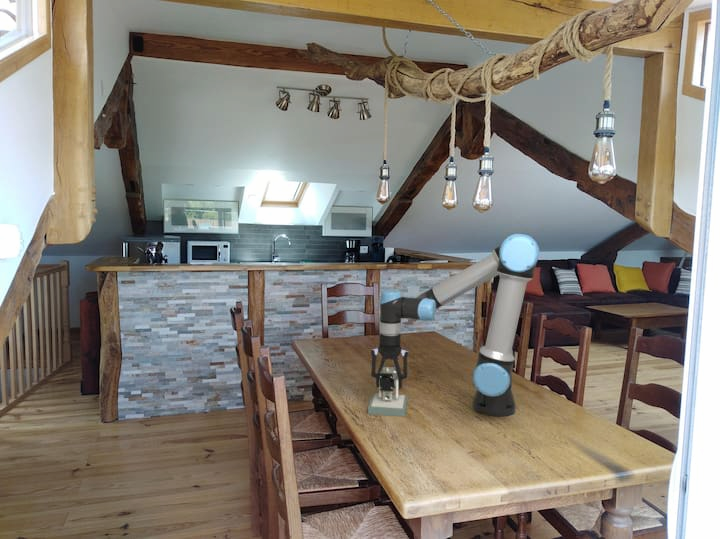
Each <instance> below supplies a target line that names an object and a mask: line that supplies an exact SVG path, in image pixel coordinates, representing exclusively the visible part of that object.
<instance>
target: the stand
mask: <svg viewBox="0 0 720 539" xmlns="http://www.w3.org/2000/svg"><path fill="white" fill-rule="evenodd" d="M408 397H409V396H408V394H399V396H398V398H396V393H393V400H392V401H390V400H385V401H384V400H383V392H382V395H381V397H379V392H373V393H372V395H371V398H370V401H369V404H368V407H367V414H368V415H376V416H390V417H404V418H405V417H406V413H407V406H408Z"/></svg>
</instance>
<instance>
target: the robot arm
mask: <svg viewBox="0 0 720 539" xmlns="http://www.w3.org/2000/svg"><path fill="white" fill-rule="evenodd" d="M539 257H540V248H539V244H538V241H537V240H536V239H535V238H534V237H533V236H531V235H530V234H527V233H523V232H521V233H519V232H518V233H515V234H510V236H507V238H505V239H504V240H503V241H502V244H501V245H498V246H497V247H495V248H494V249H493V251H492V253H490V254H489V255H487V256H485V257H483V258H482V259H481V260H478V261H477V262H475V263H473V264H472V265H470V266H468V267H466V268H465V269H462V270H461V271H459V272H458V273H456V274H454V275H453V276H451V277H449V278H447V279H446V280H443V281H441V282H440V283H438V284H437V285H435V286H433V287H431V288H429V289H428V290H426V291H424V292H422V293H420V294H419V295H418V296H417V297H408V296H407V297H405V296H403V293H402V291H401V290H396V289H387V290H386V289H385V290H383V291H381V293H380V303H379V332H380V334H379V342H378V343H379V345H378V348H372V349H371V351H370V353H371V357H372V358H371V373H370V374H371V375H370V376H371V377H372V378H375V380H376V382H375V385H376V388H378V393H379V397H381V395H382V393H383V391H380V379H379V374H380V371H382V368H383V366H384V365H385V362H386V360H391V361H393V364H394V367H395V371H396V372H397V380H396V385H395V394H396V398H398V396H399V395H400V394H399V389H403V388H402V386H403V380H405V379H407V378H408V356H409V350H405V349H402V346H401V338H402V337H401V332H402V331H401V330H402V319H409V320H419V321H423V322H425V321H433V320H434V319H435V316H436V313H437V310H438V309H439V308H441V307H442V306H444V305H446V304H448V303H449V302H452V301H453V300H456V299H457V298H459V297H460V296H463V295H464V294H466V293H468V292H470V291H472V290H474V289H475V288H478V287H479V286H480V285H483V284H484V283H486V282H489V281H490V280H492V279H493V278H496V277H497V276H499V281H498V284H497V285H498V286H497V289H496V290H497V291H496V294H495V295H496V296H495V300H494V304H493V309H492V313H491V317H490V323H489V327H488V331H487V332H488V333H487V336H486V341H485V344H484V345H482V346H480V348H479V352H478V354H477V361H476V365H475V368H474V370H473V373H472V380H473V381H472V382H473V385H474V386H475V388H476V392H475V394H474V396H473V399H472V409H473V410H474V411H476V412H478V413H481V414H483V415H487V416H493V417H508V416H512V415H514V414H515V413H516V406H517V405H516V402H515V398H514V394H513V391H512V383H513V382H512V381H513V369H514V368H513V367H514V362H515V359H516V358H515V356H514V351H513V346H514V342H515V337H516V332H517V328H518V323H519V318H520V315H521V311H522V306H523V302H524V297H525V292H526V288H527V284H528V283H529V282H530V281H532V280H533V279H534V275H535V271H536V266H537V262H538V260H539ZM378 353H379V354H380V355H381V357H382V358H381V360H380V364H379V367H378V370H377V372H376V367H377V366H376V365H377V355H378ZM400 354H401V356H402V358H403V359H402V366H403V367H402V369H403V371H401V370H402V369H401V367H400V363H399V358H398V356H399V355H400ZM402 372H403V374H402Z"/></svg>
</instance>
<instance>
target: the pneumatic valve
mask: <svg viewBox="0 0 720 539" xmlns="http://www.w3.org/2000/svg"><path fill="white" fill-rule="evenodd" d="M397 378H398V375H397V372H396V368H395V366H384V365H383V368H382V371H380V374H379V379H380V391H382V393H383V400H384V401H385V400H390V401H392V400H393V394H394V389H396V380H397Z"/></svg>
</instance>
